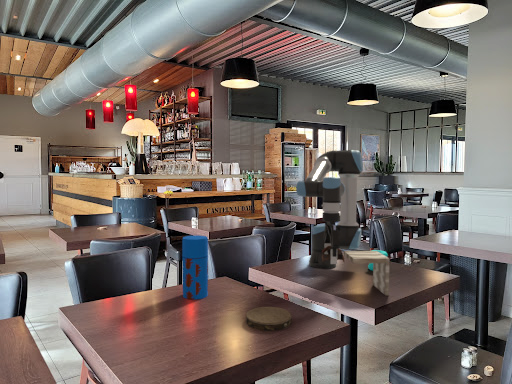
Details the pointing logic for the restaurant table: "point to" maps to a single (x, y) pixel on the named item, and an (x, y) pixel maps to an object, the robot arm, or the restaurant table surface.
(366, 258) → the counter
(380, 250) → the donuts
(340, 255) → the brown arched shell
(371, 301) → the restaurant table surface
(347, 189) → the robot arm
